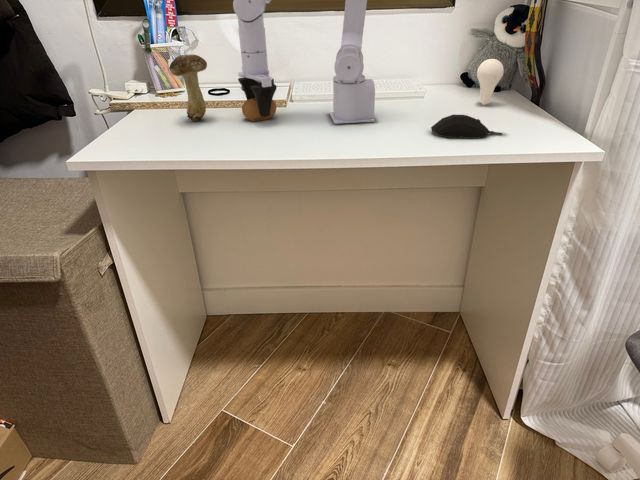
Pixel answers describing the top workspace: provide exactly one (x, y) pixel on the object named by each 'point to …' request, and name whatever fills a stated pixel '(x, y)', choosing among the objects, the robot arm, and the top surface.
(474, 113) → the top surface
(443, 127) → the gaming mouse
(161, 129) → the top surface
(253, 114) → the potato
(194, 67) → the mushroom
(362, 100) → the robot arm
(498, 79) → the lightbulb
